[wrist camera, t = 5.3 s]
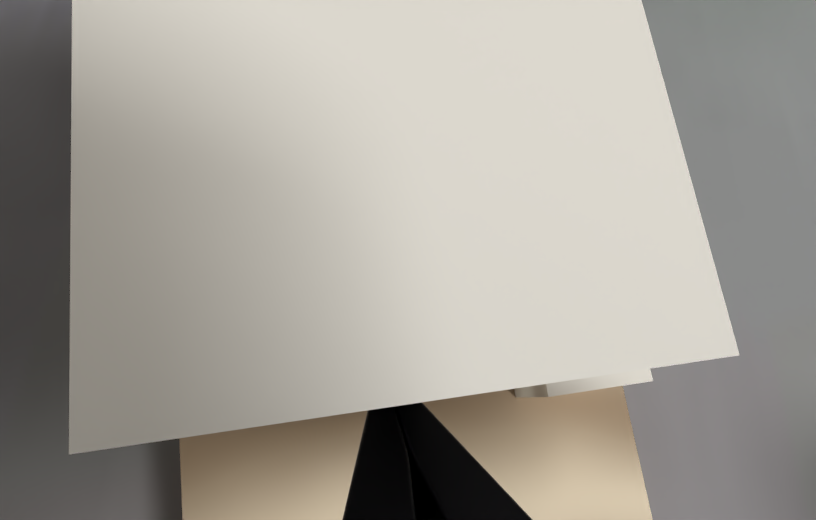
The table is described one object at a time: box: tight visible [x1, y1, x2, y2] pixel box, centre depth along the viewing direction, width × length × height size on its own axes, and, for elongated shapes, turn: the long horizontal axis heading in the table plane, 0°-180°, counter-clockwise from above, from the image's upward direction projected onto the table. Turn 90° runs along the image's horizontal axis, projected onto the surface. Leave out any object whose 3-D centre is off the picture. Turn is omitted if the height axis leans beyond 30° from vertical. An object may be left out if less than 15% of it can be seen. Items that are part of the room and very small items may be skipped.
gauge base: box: [179, 369, 653, 520], centre depth 16 cm, size 22×13×4 cm, turn 8°
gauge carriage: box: [69, 0, 739, 455], centre depth 11 cm, size 8×10×10 cm
